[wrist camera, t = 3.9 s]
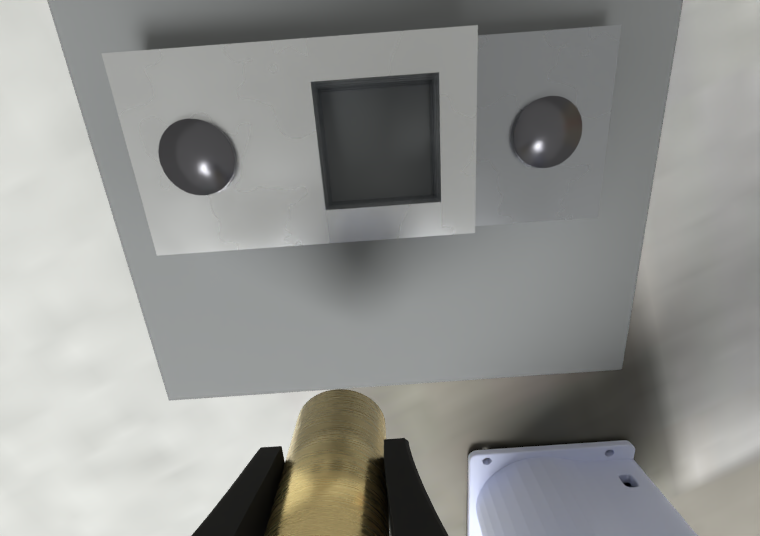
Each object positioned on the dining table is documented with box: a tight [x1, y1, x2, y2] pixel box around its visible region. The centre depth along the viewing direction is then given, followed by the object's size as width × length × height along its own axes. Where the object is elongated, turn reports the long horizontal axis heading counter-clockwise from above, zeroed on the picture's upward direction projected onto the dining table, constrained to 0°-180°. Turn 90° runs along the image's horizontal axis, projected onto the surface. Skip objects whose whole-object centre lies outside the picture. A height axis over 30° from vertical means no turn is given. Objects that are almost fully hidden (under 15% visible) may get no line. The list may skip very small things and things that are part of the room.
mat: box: [47, 0, 683, 400], centre depth 16 cm, size 24×18×1 cm
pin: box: [264, 389, 390, 536], centre depth 9 cm, size 3×3×6 cm
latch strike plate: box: [101, 25, 621, 256], centre depth 14 cm, size 18×7×3 cm, turn 94°
